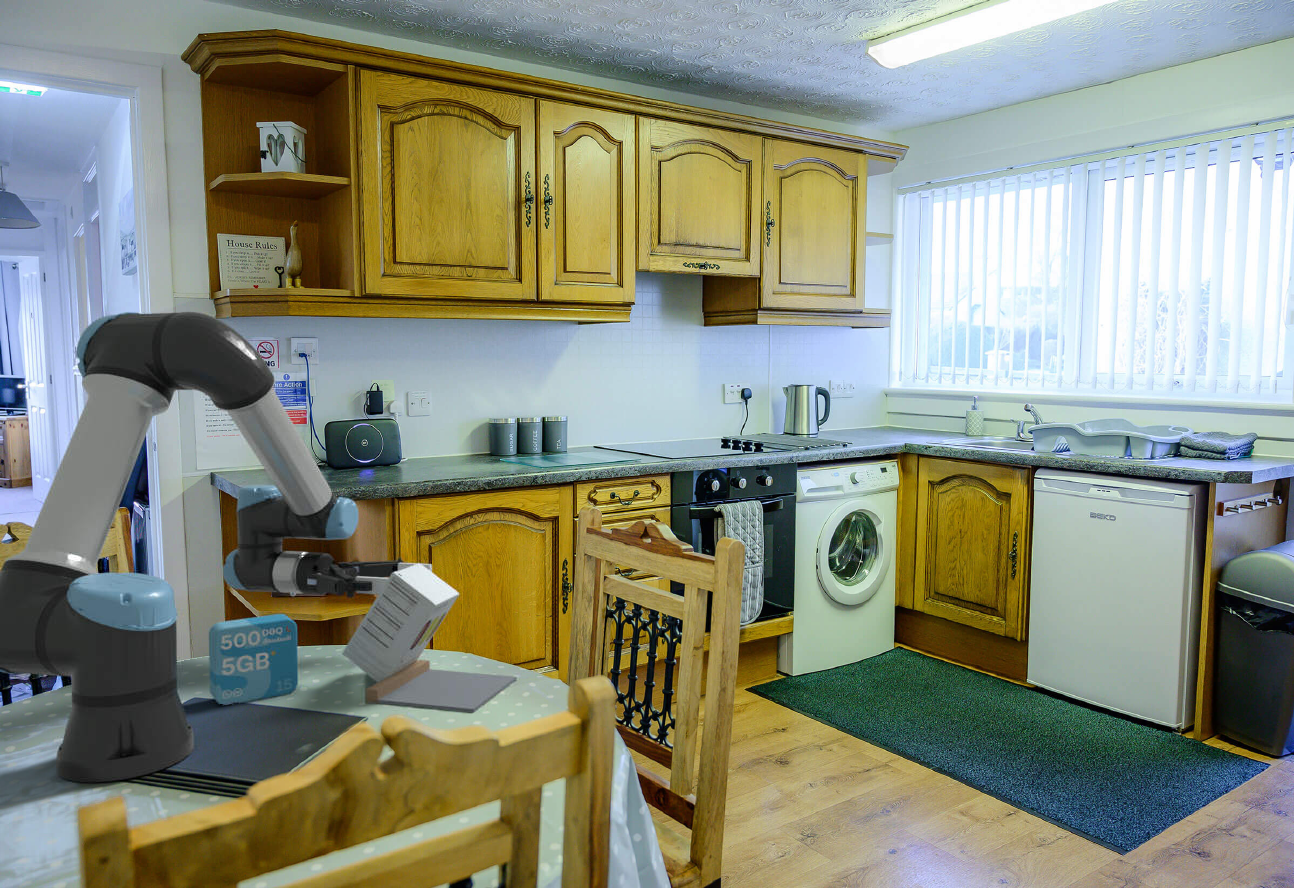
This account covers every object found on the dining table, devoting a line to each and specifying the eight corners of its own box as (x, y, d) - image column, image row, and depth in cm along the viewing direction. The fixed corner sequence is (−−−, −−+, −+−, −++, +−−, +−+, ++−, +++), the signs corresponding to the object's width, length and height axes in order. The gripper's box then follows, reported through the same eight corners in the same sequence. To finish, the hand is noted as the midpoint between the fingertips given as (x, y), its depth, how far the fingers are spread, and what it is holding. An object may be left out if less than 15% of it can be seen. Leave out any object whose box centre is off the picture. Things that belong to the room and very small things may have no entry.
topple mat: (366, 701, 134) (366, 688, 134) (419, 671, 150) (418, 659, 150) (473, 712, 130) (473, 698, 130) (516, 679, 145) (516, 667, 145)
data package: (215, 708, 132) (214, 629, 131) (209, 700, 135) (208, 623, 135) (298, 692, 139) (297, 617, 138) (290, 685, 142) (289, 612, 142)
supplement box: (382, 688, 141) (435, 606, 138) (339, 654, 142) (391, 571, 139) (411, 670, 150) (461, 592, 147) (371, 638, 151) (419, 560, 149)
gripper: (346, 580, 171) (445, 586, 165) (260, 608, 147) (372, 616, 141) (346, 542, 170) (445, 546, 165) (259, 564, 146) (372, 570, 141)
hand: (412, 578), depth 153 cm, fingers open, 13 cm apart
